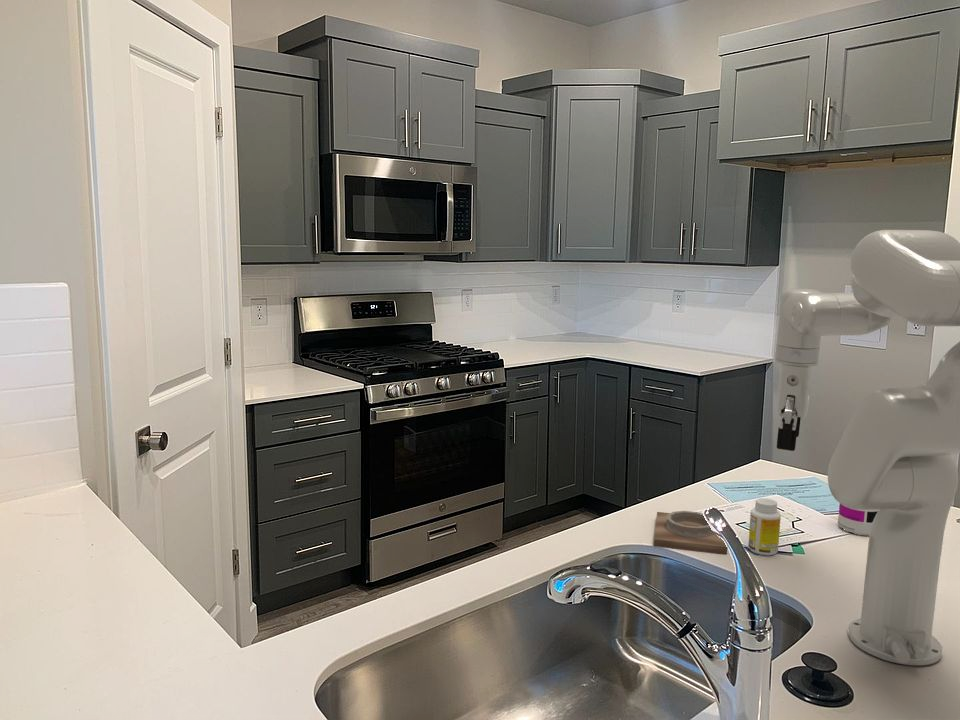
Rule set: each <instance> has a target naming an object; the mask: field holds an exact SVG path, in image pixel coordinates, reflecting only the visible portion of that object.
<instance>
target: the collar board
mask: <svg viewBox="0 0 960 720" xmlns="http://www.w3.org/2000/svg"><path fill="white" fill-rule="evenodd" d="M703 514H704V513H701V512H698V511H692V510H691V511H690V510H680V511H679V510H678V511H677V510H676V511H672V512H664V511H663V512H661V511H656V519H655V529H654V535H653V536H654V537H653V547H659V548H668V549H676V550H683V551H684V550H685V551H694V552H703V553H710V554H711V553H712V554H720V555H727V554H728V546H727V547H726V545H725V543H724V541H723V540H722V539H721V538H719V537H718V536H717V535H716V534H715V533H714V532H713V531H712V530H711V528H710V526H709V524H708V523H707V521H706V520H705V518H704V516H703Z"/></svg>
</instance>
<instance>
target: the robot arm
mask: <svg viewBox="0 0 960 720" xmlns="http://www.w3.org/2000/svg"><path fill="white" fill-rule="evenodd" d="M850 258H851V259H850V271H851V274H852V275H851V276H852V277H851V280H850V281H851V283H850V285H851V286H850V287H851V292H822V291H821V290H817V289H811V288H800V287H799V288H796V287H795V288H788V289H786V290H784V291H783V292H782V294H781V297H780V304H779V314H778V325H777V333H776V334H777V335H776V336H777V337H776V346H775V357H774V362H775V363H777V364H780V370H779V371H780V372H779V373H780V374H779V382H778V383H779V384H778V396H777V397H778V401H777V403H778V404H777V414H778V415H779V416H780V421H779V426H778V428H777V430H778V431H777V437H776V438H777V439H776V448H777V449H778V450H785V451H789V452H790V451H791V452H795V451H796V444H797V438H798V437H799V435H800V428H801V427H800V426H801V419H803V420H804V419H805V418H806V417H807V414H808V411H809V401H810V392H811V382H812V367H817V366H818V364H819V358H820V348H821V340H822V336H825V337H827V336H829V337H830V336H862V335H868V334H871V333H873V332H875V331H879V330H881V329H882V328H885V327H887V326H890V325H891V324H892V323H894V322H895V321H896V319H897V318H898V317H900V318H902V319H903V320H905V321H907V322H909V323H911V324H914V325H916V326H917V325H918V326H923V327H960V242H959V240H958V239H956V237H953V236H952V235H950V234H949V233H945V232H942V231H939V230H929V229H925V230H924V229H881V230H876V231H873V232H871V233H869V234H867V235H865V236H864V237H863V238H861V239H860V241H859V242H858V243H857V244H856V246H855V247H854V249H853V251H852V254H851V257H850ZM956 454H960V341H958V342H957V343H956V344H955V345H953V346H952V347H951V348H949V350H948V351H947V352H946V353H945V354H944V355H943V356H942V358H941V359H940V360H939V362H938V364H937V366H936V368H935V370H934V371H933V373H932V374H931V376H930V377H929V379H928V380H927V381H926V382H925V383H923V384H920V385H918V386H912V387H911V386H909V387H905V386H904V387H885V388H880V389H877V390H875V391H873V392H871V393H869V394H867V395H866V396H865V397H864V398H863V399H862V400H861V401H860V402H859V403H858V405H857V406H856V408H855V410H854V412H853V413H852V416H851V417H850V419H849V421H848V423H847V425H846V427H845V429H844V431H843V433H842V435H841V437H840V438H839V441H838V442H837V445H836V446H835V449H834V451H833V453H832V456H831V458H830V461H829V464H828V467H827V468H828V470H827V484H828V488H829V491H830V493H831V495H832V497H833V498H834V499H835V500H836V502H837V503H839V505H840V504H842V505H844V506H846V507H848V508H852V509H860V510H873V509H879V511H878V512H877V514H876V516H875V518H874V520H873V522H872V525H871V529H870V534H869V536H868V543H867V544H868V545H867V554H866V564H865V573H864V574H865V575H864V584H863V585H864V586H863V593H862V595H863V596H862V603H861V604H862V605H861V614H860V615H861V616H860V618H858V619H855V620H853V621H852V622H850V624H849V625H848V631H847V633H848V637H849V639H850V640H851V642H853V644H854V645H855V646H856V647H857V648H859V649H861V650H862V651H864V652H865V653H867V654H869V655H871V656H874V657H875V658H878V659H880V660H884V661H887V662H890V663H895V664H899V665H905V666H918V667H919V666H929V665H933V664H935V663H937V662H939V661H940V660H941V658H942V655H943V646H942V644H941V643H940V641H939V640H938V639H937V638H936V637H935V636H934V635H933V634H932V633H933V625H934V616H935V611H936V610H935V609H936V600H937V599H936V598H937V591H938V582H939V574H940V566H941V565H940V564H941V558H942V557H941V556H942V552H943V551H942V550H943V542H944V534H945V530H946V529H945V528H946V524H947V521H948V517H949V513H950V510H951V507H952V504H953V502H954V499H955V497H956V494H957V490H958V486H959V470H958V466H957V464H956V461H955V460H954V459H953V457H952V456H951V455H956Z"/></svg>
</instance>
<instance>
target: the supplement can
mask: <svg viewBox="0 0 960 720" xmlns="http://www.w3.org/2000/svg"><path fill="white" fill-rule="evenodd" d="M838 506H839V507H838V516H837V517H838V518H837V524H838V526H839V527H840V528H841V527H842V528H843V529H845V530H847V531H849V532H852V533H854V535H856V534H857V536H865V537H869V534H870V529H871V525H872V522H873V520H874V518H875V516H876V514H877V512H878V511H879V509H873V510H860V509H852V508H848V507H846V506H844V505H842V504H840V503H839V505H838ZM842 528H841V529H842ZM843 529H842V530H843ZM845 530H844V531H845ZM847 531H846V532H847ZM849 532H848V533H849ZM852 533H851V534H852Z"/></svg>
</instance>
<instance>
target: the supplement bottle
mask: <svg viewBox="0 0 960 720" xmlns="http://www.w3.org/2000/svg"><path fill="white" fill-rule="evenodd" d="M754 504H755V505H754V507H753V508H752V509H751V510H750V517H749V535H748V549H749V550H750V551H751V552H753V553H754V554H757V555H761V556H773V555H776V554H777V553H778V551H779V543H780V542H779V541H780V530H781V516H782V515H781V513H780V512H779V511H778V502H777V501H776V500H774V499H771V498H765V497H761V498H756V500H755V503H754Z"/></svg>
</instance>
